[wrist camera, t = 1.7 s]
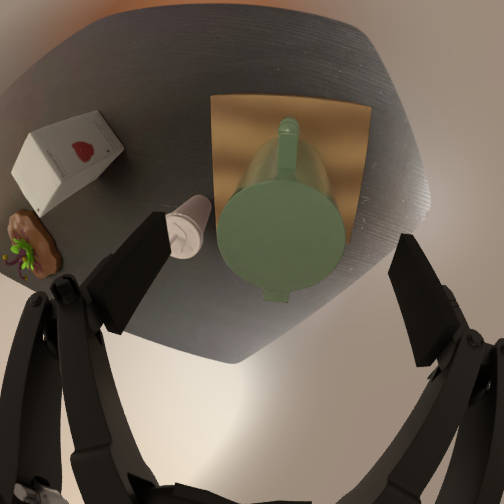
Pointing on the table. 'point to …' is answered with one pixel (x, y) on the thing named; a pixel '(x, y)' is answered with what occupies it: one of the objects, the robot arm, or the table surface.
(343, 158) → the stand
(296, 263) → the jug
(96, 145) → the rectangular carton
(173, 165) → the table surface
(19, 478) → the robot arm
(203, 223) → the smoothie
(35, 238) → the plant
